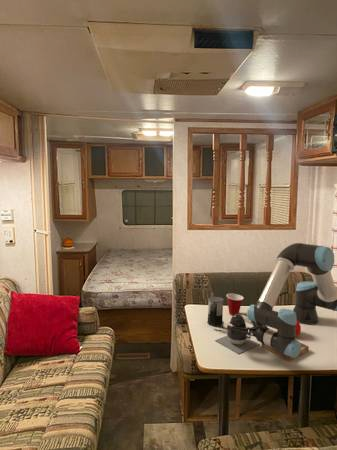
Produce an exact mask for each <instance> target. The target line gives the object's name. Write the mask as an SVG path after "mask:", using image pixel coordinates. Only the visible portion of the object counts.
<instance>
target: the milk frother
mask: <svg viewBox="0 0 337 450" xmlns="http://www.w3.org/2000/svg"><path fill="white" fill-rule="evenodd" d="M207 300H208V304H207V305H208V307H207V325H209V326H212V327H220V326H223V325H224V320H223V316H224V315H223V312H224V298H222V297H220V296H210V297H208V298H207Z"/></svg>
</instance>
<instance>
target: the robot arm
mask: <svg viewBox="0 0 337 450" xmlns="http://www.w3.org/2000/svg"><path fill="white" fill-rule="evenodd" d="M334 265H335V253H334V251H333V249H332V248H331V247H328V246H325V245H316V244H309V243H302V242H296V243H291V244H290V245H288V246H286V247H285V248H284V249H283V250H282V251H280V252H279V254H278V255H277V257H276V258H275V266H274V267H273V270H272V272H271V274H270V276H269V278H268V279H267V282H266V284H265V286H264V288H263V291H262V292H261V294H260V296H259V299H258V301H257V302H256V304H250V305H249V306H248V308H247V311H246V315H243V314H242V317H243V318H244V320H245V324H246V323H247V324H249V325H252V326H251V327H247V326H246V328H240V327H234V325H232V324H229V323H230V322H228V321H224V320H223V324H224V325H223V328H226V329H227V330H228V329H229V330H231V334H234V335H238V336H243V337H246V338H248V339H250V340H252V339H251V337H254V338H255V339H256V340H257V342H260V343H261V344H262V343H263V344H265V345H268V346H270V347H271V348H274V349H276V350H278V351H280V352H282V353H284V354H285V355H288V356H290V357H293V358H294V357H297V356H298V355H299V353H300V351H301V343H302V342H300V341H299V340H297V339H296V337H297V335H296V336H295V334H296V324H297V321H296V319H297V320H298V321H299V324H304V325H315V324H317V323H319V316H318V312H317V307H319V308H321V309H322V308H323V309H326V310H330V311H332V312H337V286H336V285H335V282H334V279H333V275H332V272H331V271H332V269H333V268H334ZM296 266H299V267H304V268H307V270H308V272H309V273H310V274H311V275H312V276H313V278H314V281H301V282H298V283H297V284H296V288H295V300H294V301H295V303H294V307H293V309H290V308H281V309H279V310H278V311H277V310H273V309H274V307H275V304H276V303H277V301H278V298H279V297H280V294H281V292H282V290H283V288H284V285H285V284H286V281H287V279H288V277H289V274H290V272H291V271H293V270H294V269H295V267H296ZM274 329H275V330H274ZM276 330H277V331H276ZM298 357H299V356H298ZM298 357H297V358H298Z"/></svg>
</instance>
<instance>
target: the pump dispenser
mask: <svg viewBox="0 0 337 450" xmlns="http://www.w3.org/2000/svg"><path fill="white" fill-rule="evenodd" d="M242 315H243V314H242ZM242 315H241V314H240V313H239V314H235V315H234V316H231V319H230V321H229V322H228V323H229V324H232V325H234V327H240V328H247V325H246V322H245V320H244V318H243V317H242ZM226 332H227V333H226V336H228V339H229V340H230V342H232V343H233V344H237V345H240V344H243V343H244V342H245V341H246V339H247V338H246V337H243V336H238V335H234V334H231V330H229V329H227V331H226Z"/></svg>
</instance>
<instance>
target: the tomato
mask: <svg viewBox="0 0 337 450" xmlns="http://www.w3.org/2000/svg"><path fill="white" fill-rule="evenodd" d="M296 321H297V324H296V334H295V336H296V337H297V336H298V335H300V333H301V327H302V326H301V323H299V321H298V320H297V319H296Z"/></svg>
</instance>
